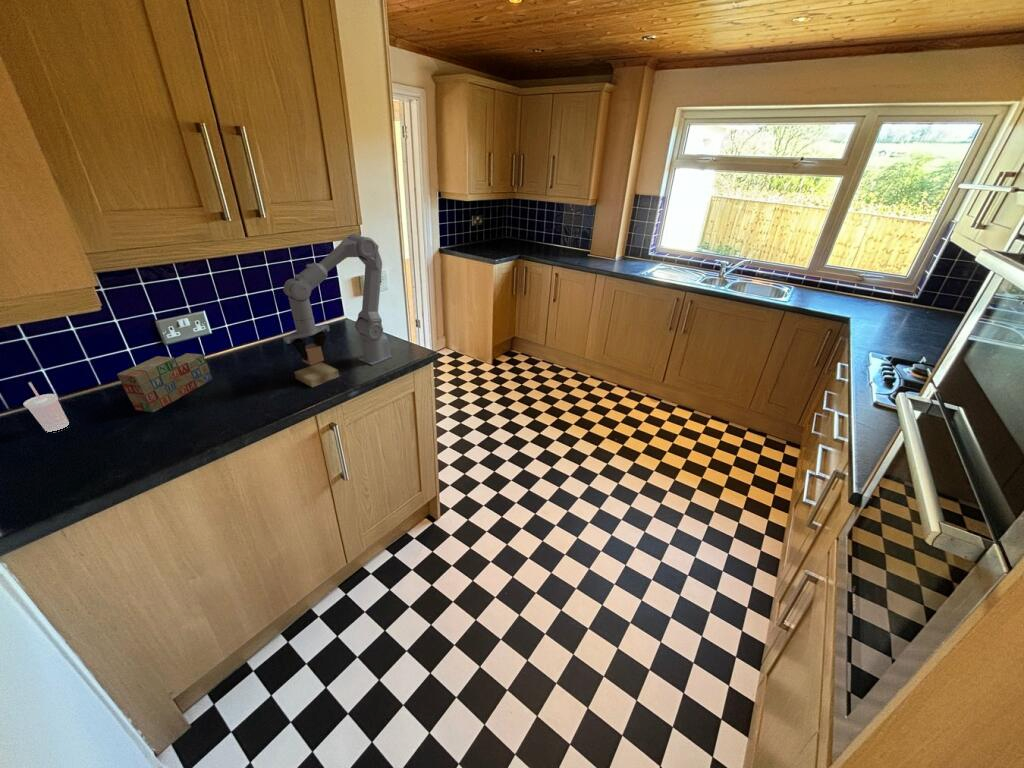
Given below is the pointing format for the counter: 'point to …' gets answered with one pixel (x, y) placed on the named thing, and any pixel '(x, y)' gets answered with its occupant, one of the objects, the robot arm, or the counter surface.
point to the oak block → (316, 374)
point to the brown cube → (313, 354)
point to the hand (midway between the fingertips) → (312, 356)
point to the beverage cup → (47, 411)
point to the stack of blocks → (164, 380)
